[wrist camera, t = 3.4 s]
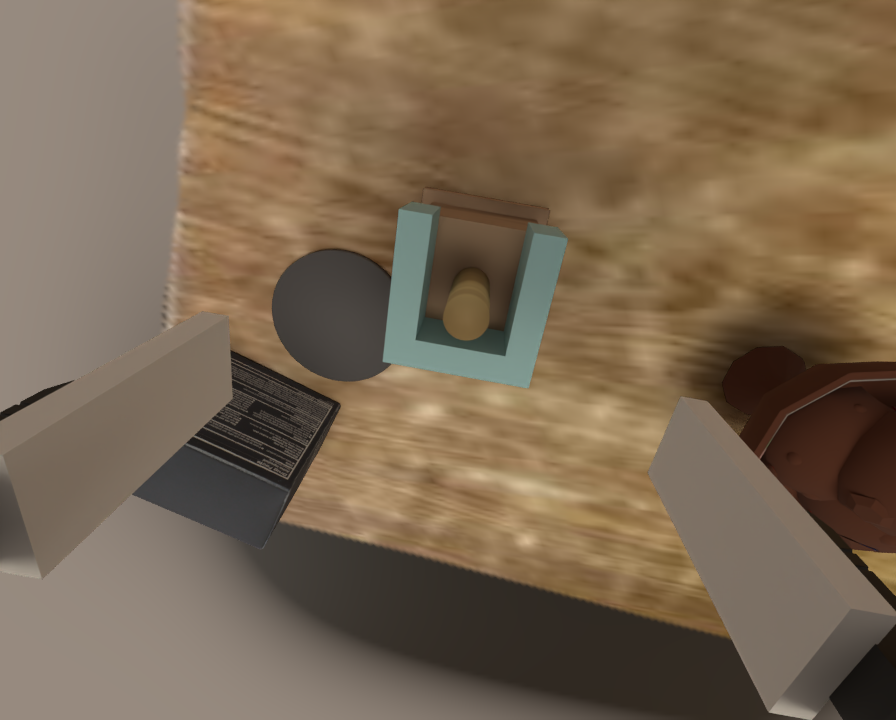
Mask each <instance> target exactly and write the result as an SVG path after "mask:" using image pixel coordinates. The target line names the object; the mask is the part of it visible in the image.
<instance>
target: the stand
mask: <svg viewBox="0 0 896 720" xmlns="http://www.w3.org/2000/svg"><path fill="white" fill-rule="evenodd" d="M422 204H428V205H434V206H439V207H441V209H440V216H439V223H438V230H437V237H436V244H435V251H434V258H433V265H432V272H431V279H430V286H429V293H428V300H427V307H426V313H425V317H427V318H432V319H438V320H443V323H444V326H445V328H446V330H447V331H448V333H449V334H450V335H452V336H453V337H455V338H457V339H459V340H465V341H468V340H474V339H476V338H478V337H480V336H481V335H482V334H483V333H484V332H485V331H486V329H487V328H488V329H493V330H499V331H504V328H505V323H506V319H507V314H508V310H509V306H510V301H511V297H512V292H513V288H514V283H515V279H516V275H517V270H518V266H519V261H520V257H521V252H522V248H523V243H524V239H525V235H526V230H527V226H528V222H530V223H536V224H542V225H547V222H548V218H549V214H550V210H549V209H548V208H543V207H537V206H531V205H526V204H520V203H514V202H509V201H503V200H497V199H492V198H486V197H480V196H475V195H469V194H463V193H457V192H452V191H446V190H440V189H435V188H429V187H425V188H423V195H422Z"/></svg>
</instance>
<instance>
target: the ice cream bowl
mask: <svg viewBox="0 0 896 720" xmlns="http://www.w3.org/2000/svg"><path fill="white" fill-rule="evenodd" d="M722 384H723V389H724V393H725V397H726V402H728V403H729V404H731V405H732V406H734V407H736V408H737V409H739V410H740V411H742V412H744V413H746V414H748V415H751V417H750V419H749V420H748V422H747V424H746V425H745V427H744V429H743V430H742V432H741V434H740V435H739V437H740V438H741V439H742V440H743V442H744V443H745V444H746V445H747V446H748V447H749V448H750V449H751V450H752V452H753V453H754V454H755V455H756V456H757V457H758V458H759V459H760V460H761V462H762V463H763V464H764V465H765V466H766V467H767V468H768V469H769V470H770V472H771V473H772V474H773V475H774V476H775V477H776V478H777V479H778V481H779V482H780V483H781V484H782V485H783V486H784V487H785V488H786V489H787V491H788V492H789V493H790V494H791V495H792V496H793V497H794V498H795V499H796V501H797V502H798V503H799V504H800V505H801V506H802V507H803V508H804V509H805V510H808V511H810V512H811V513H812V514H814V515H815V516H816V517H818V518H819V519H820V520H822V521H823V522H824V523H826V524H827V525H828V526H830V527H831V528H832V529H833V530H834V531H835V532H836V533H837V534H838V535H839V536H840V537H841V538H842V539H843V540H844V541H845V542H846V544H847V545H848V546H849V547H850V548H851V549H854V550H864V551H874V552H881V553H896V362H856V363H835V364H816V365H815V366H813V367H811V368H809V369H807V370H806V369H805V363H804V361H803V359H802V358H801V357H799V356H798V355H796V354H795V353H793V352H792V351H790V350H789V349H787V348H785V347H784V346H777V347H759V348H755V349H754V350H752V351H750V352H749V353H747V354H745V355H744V356H742V357H740V358H739V359H737V360H735V361H734V362H733V363H732V365H731V367H730V369H729V371H728V373H727V374H726V376H725V378H724V380H723V382H722Z"/></svg>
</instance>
